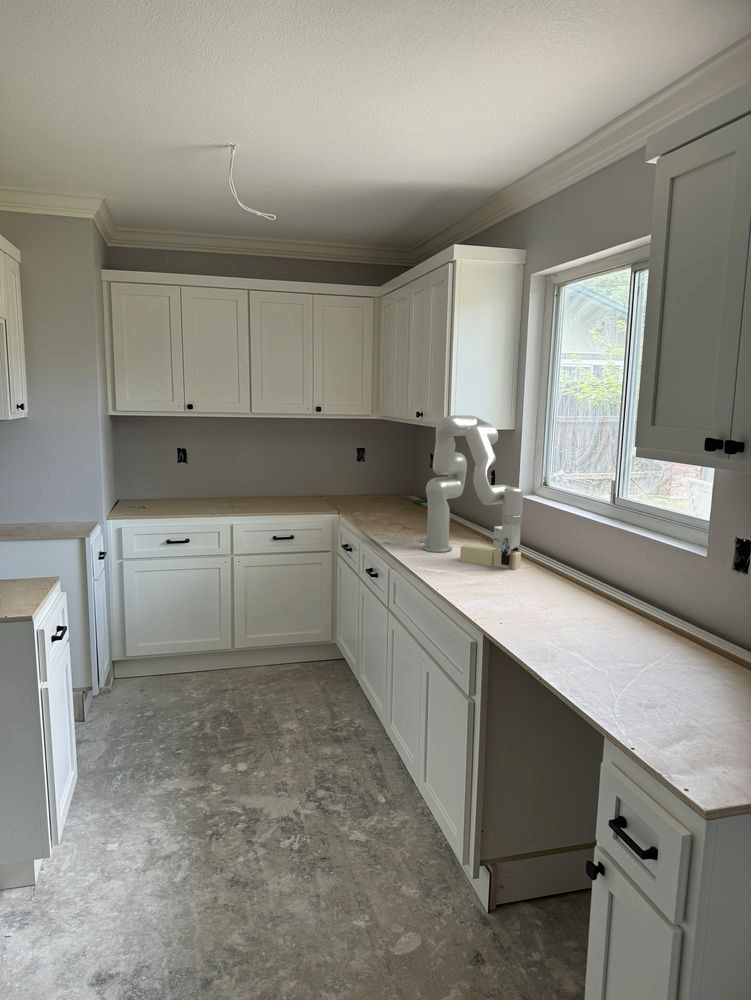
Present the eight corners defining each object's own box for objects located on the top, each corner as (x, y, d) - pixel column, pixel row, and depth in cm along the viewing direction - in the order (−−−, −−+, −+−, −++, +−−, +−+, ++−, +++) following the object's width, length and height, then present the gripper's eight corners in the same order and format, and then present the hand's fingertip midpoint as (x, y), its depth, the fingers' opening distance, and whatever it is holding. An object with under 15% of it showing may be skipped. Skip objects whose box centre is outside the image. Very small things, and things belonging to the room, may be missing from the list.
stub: (493, 566, 265) (494, 551, 264) (498, 563, 270) (499, 548, 269) (515, 570, 260) (515, 554, 259) (520, 567, 265) (521, 551, 264)
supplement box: (492, 555, 287) (493, 526, 285) (507, 554, 289) (509, 525, 287) (500, 559, 280) (501, 529, 278) (516, 558, 282) (517, 528, 280)
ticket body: (459, 561, 273) (460, 546, 272) (465, 558, 277) (466, 543, 276) (492, 566, 265) (493, 551, 264) (497, 564, 270) (498, 548, 269)
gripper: (511, 515, 271) (509, 556, 273) (494, 521, 256) (492, 565, 259) (529, 517, 267) (526, 559, 269) (512, 523, 252) (510, 568, 255)
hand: (509, 562), depth 264 cm, fingers open, 9 cm apart
